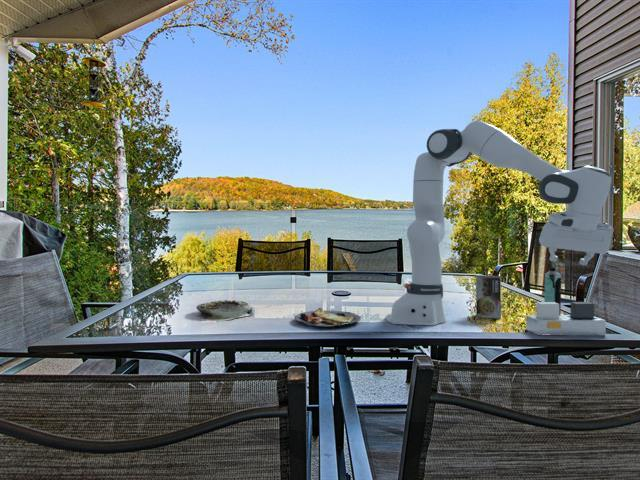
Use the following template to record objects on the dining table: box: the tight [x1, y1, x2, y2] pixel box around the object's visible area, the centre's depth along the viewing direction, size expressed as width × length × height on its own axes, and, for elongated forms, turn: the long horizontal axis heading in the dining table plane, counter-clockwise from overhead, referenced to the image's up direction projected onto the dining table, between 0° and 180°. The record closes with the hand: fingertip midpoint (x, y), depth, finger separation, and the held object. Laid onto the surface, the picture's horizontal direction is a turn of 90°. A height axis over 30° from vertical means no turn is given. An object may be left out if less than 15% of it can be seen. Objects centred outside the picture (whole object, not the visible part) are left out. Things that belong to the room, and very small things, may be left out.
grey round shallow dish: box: [195, 299, 254, 322], centre depth 177 cm, size 28×27×5 cm
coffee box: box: [475, 274, 502, 320], centre depth 167 cm, size 9×6×16 cm
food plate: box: [293, 307, 362, 328], centre depth 161 cm, size 25×23×4 cm
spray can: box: [544, 267, 562, 315], centre depth 161 cm, size 6×6×20 cm
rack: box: [525, 301, 607, 336], centre depth 142 cm, size 22×8×10 cm, turn 89°
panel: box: [535, 301, 559, 319], centre depth 142 cm, size 6×3×9 cm, turn 89°
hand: (567, 262), depth 133 cm, fingers open, 8 cm apart
